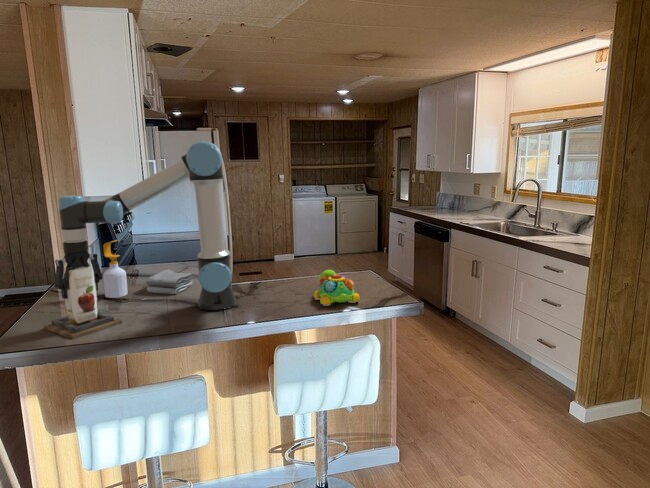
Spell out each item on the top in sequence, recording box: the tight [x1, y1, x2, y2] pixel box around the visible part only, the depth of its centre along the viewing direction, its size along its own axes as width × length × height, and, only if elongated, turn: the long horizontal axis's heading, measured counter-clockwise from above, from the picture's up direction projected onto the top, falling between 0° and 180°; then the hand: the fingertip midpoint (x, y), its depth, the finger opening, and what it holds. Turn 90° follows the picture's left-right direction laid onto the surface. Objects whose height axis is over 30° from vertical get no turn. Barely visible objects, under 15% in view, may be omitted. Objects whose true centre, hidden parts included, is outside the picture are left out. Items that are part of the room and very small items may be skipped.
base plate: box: [43, 311, 123, 340], centre depth 161 cm, size 18×18×3 cm
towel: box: [146, 268, 195, 295], centre depth 207 cm, size 15×18×8 cm
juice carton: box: [63, 265, 98, 323], centre depth 159 cm, size 8×9×19 cm
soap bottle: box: [102, 239, 128, 299], centre depth 196 cm, size 9×9×25 cm
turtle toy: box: [313, 269, 361, 305], centre depth 190 cm, size 17×23×12 cm
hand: (81, 303), depth 160 cm, fingers closed on juice carton, 8 cm apart
